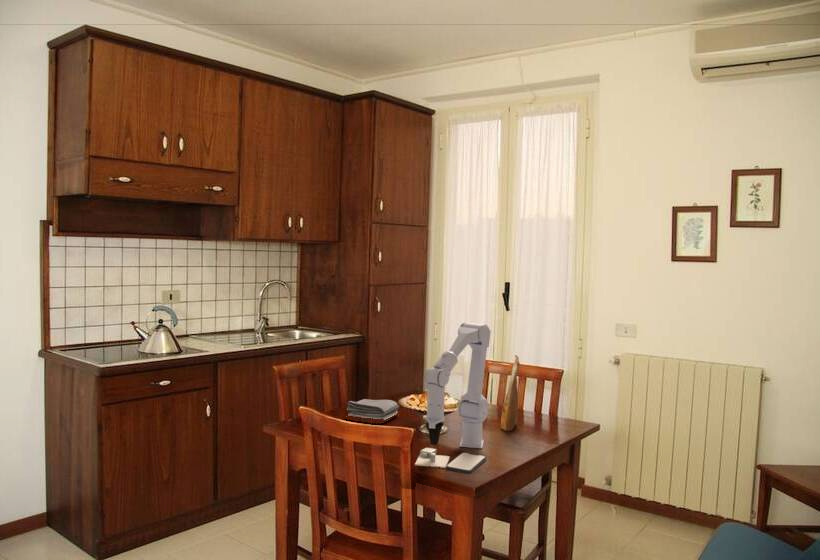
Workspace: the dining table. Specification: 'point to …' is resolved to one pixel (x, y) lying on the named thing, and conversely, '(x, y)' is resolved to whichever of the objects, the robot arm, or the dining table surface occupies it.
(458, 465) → the phone case
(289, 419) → the dining table surface
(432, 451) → the lighter
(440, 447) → the dining table surface
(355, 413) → the towel
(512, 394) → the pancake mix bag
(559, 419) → the dining table surface
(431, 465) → the mat
